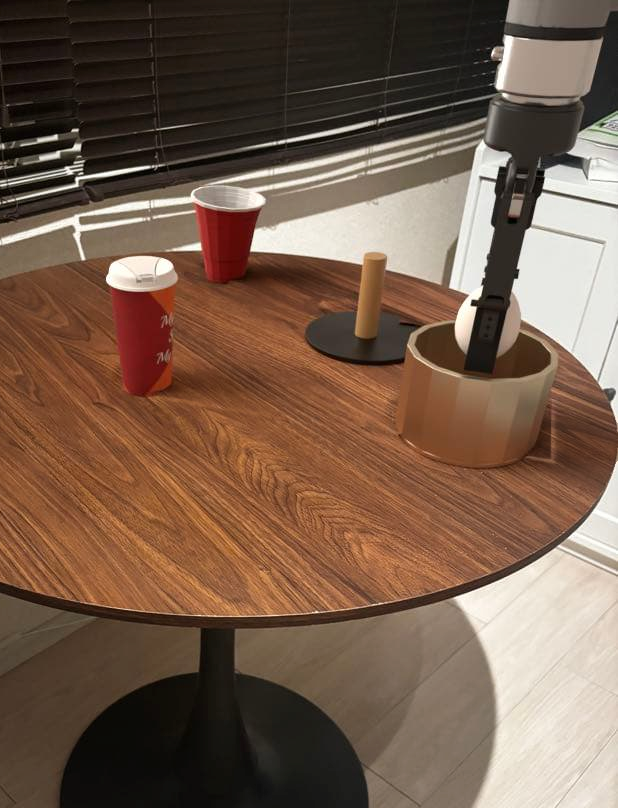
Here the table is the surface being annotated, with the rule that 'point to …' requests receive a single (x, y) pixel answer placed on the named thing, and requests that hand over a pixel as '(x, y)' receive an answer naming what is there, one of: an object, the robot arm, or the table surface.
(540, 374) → the pot
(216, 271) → the plastic cup
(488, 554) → the table surface
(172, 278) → the paper cup
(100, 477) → the table surface
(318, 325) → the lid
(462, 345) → the egg
